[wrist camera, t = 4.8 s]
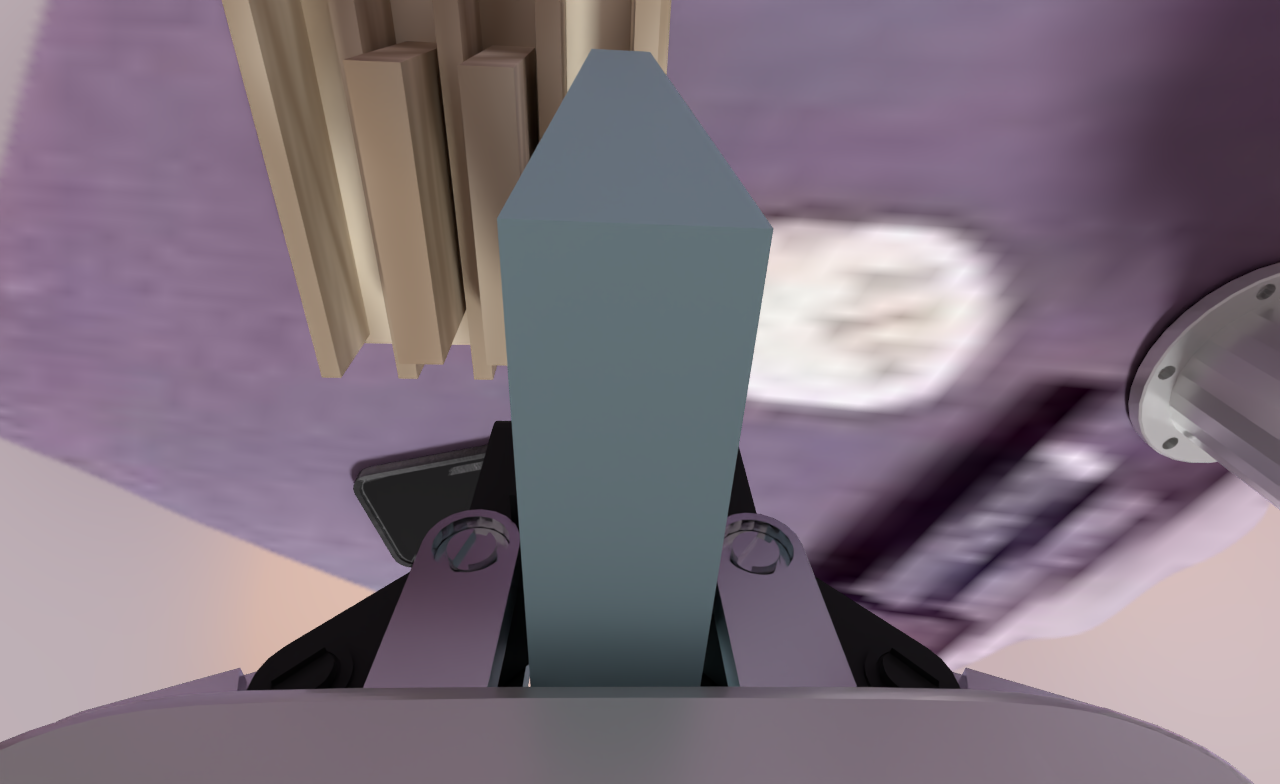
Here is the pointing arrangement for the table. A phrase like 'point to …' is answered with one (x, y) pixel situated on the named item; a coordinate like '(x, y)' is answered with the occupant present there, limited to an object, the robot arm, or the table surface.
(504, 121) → the offcut
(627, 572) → the tall sheet
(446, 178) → the offcut
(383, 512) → the phone
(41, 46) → the table surface
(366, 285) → the rack
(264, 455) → the table surface
